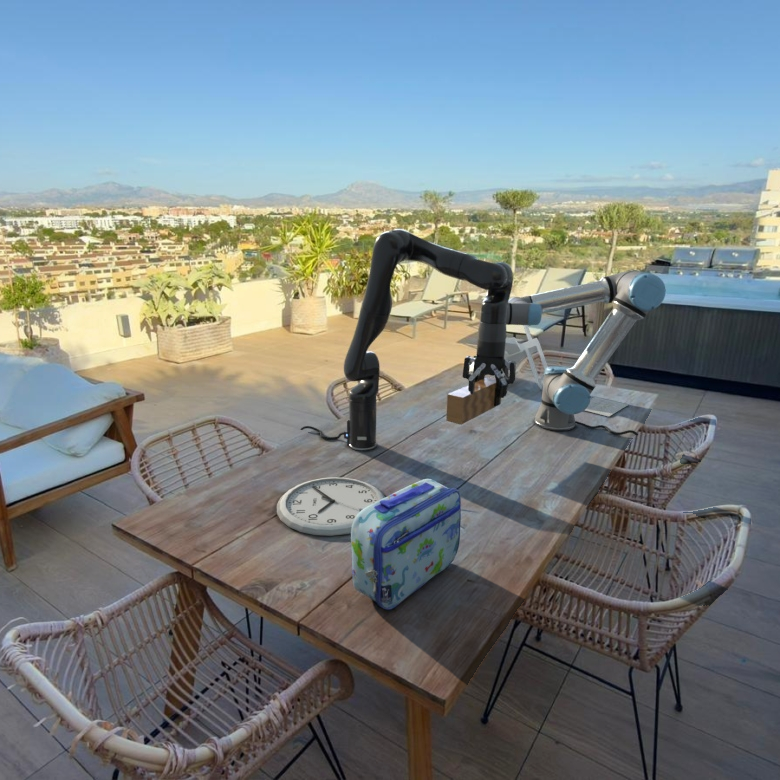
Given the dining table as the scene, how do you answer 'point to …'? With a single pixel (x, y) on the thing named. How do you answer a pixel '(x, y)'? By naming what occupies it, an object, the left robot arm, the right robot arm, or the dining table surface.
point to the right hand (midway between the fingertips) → (488, 403)
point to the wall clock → (326, 505)
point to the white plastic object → (522, 353)
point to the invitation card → (604, 406)
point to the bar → (471, 401)
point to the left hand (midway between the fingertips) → (487, 395)
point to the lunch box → (405, 541)
